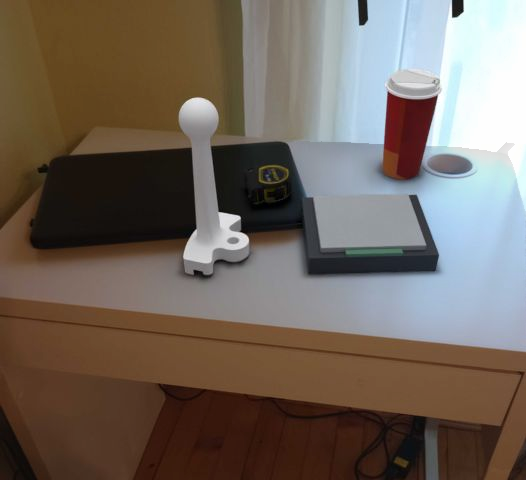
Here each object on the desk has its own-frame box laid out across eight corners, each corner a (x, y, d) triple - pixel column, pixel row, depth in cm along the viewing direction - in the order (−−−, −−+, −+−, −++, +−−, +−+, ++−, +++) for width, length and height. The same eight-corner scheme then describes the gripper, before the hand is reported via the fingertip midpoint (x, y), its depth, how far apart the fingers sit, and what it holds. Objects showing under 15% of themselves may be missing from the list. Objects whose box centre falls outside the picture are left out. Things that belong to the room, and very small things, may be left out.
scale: (414, 209, 89) (417, 189, 87) (435, 270, 79) (440, 249, 77) (300, 212, 89) (301, 192, 87) (308, 273, 79) (309, 252, 77)
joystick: (211, 224, 87) (198, 77, 73) (262, 234, 85) (260, 85, 71) (177, 271, 80) (155, 118, 66) (232, 283, 78) (222, 128, 64)
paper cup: (431, 163, 98) (449, 72, 88) (418, 187, 93) (435, 93, 83) (383, 154, 101) (394, 63, 91) (368, 176, 96) (378, 83, 86)
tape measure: (243, 186, 94) (242, 163, 91) (288, 182, 95) (288, 159, 92) (248, 211, 89) (247, 187, 87) (296, 206, 90) (297, 183, 87)
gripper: (316, -162, 81) (327, 18, 86) (507, -176, 82) (508, 3, 87) (309, -131, 88) (320, 33, 93) (484, -145, 89) (486, 19, 94)
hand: (410, 19), depth 90 cm, fingers open, 13 cm apart
